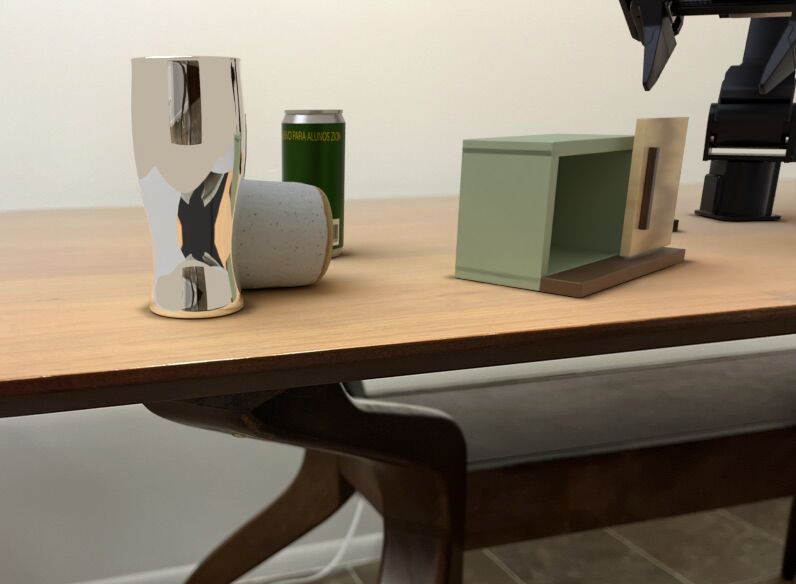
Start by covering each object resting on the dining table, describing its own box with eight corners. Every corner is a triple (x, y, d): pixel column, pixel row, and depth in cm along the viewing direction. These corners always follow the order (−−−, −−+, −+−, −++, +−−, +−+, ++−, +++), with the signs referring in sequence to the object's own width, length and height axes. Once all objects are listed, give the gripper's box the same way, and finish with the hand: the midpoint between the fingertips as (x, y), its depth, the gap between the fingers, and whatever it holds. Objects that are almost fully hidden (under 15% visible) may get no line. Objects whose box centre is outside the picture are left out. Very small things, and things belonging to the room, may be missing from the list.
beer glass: (232, 323, 49) (224, 54, 44) (125, 317, 50) (105, 57, 45) (262, 297, 55) (258, 60, 50) (166, 293, 57) (153, 62, 52)
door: (660, 243, 67) (678, 116, 64) (678, 245, 66) (697, 117, 63) (619, 256, 62) (636, 118, 59) (637, 258, 61) (656, 118, 58)
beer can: (356, 254, 71) (359, 109, 67) (309, 261, 68) (310, 110, 64) (315, 246, 75) (316, 109, 71) (270, 253, 72) (268, 110, 68)
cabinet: (569, 247, 74) (582, 132, 70) (684, 261, 67) (703, 134, 64) (454, 277, 61) (462, 139, 58) (580, 298, 55) (597, 142, 51)
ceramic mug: (338, 292, 56) (339, 178, 54) (221, 300, 54) (217, 182, 52) (297, 268, 66) (296, 170, 64) (197, 273, 64) (192, 173, 62)
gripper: (639, -130, 69) (566, 24, 67) (904, -171, 57) (823, 16, 55) (667, -31, 77) (602, 108, 75) (903, -49, 65) (833, 117, 63)
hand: (701, 89), depth 67 cm, fingers open, 9 cm apart
